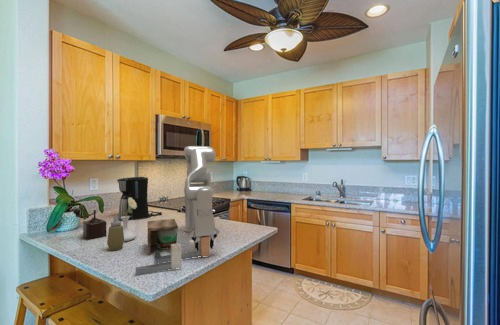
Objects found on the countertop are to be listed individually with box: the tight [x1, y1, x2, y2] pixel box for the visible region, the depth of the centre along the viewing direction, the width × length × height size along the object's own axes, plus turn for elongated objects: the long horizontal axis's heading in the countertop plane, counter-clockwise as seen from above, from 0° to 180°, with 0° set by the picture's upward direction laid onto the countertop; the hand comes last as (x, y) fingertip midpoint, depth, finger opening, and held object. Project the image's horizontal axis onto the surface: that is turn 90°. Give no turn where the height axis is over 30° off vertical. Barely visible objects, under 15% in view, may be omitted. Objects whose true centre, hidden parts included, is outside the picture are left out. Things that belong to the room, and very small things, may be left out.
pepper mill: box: [72, 208, 107, 241], centre depth 147 cm, size 16×11×18 cm
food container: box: [156, 227, 180, 250], centre depth 131 cm, size 12×6×10 cm, turn 117°
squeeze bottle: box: [106, 214, 125, 251], centre depth 128 cm, size 8×8×18 cm
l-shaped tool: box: [135, 242, 182, 276], centre depth 103 cm, size 18×4×10 cm, turn 113°
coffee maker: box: [116, 176, 163, 221], centre depth 204 cm, size 23×32×34 cm
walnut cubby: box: [147, 218, 179, 256], centre depth 130 cm, size 14×17×13 cm
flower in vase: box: [121, 197, 137, 242], centre depth 144 cm, size 13×11×25 cm
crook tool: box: [154, 236, 211, 264], centre depth 118 cm, size 25×12×10 cm, turn 113°
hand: (204, 248), depth 119 cm, fingers open, 6 cm apart
